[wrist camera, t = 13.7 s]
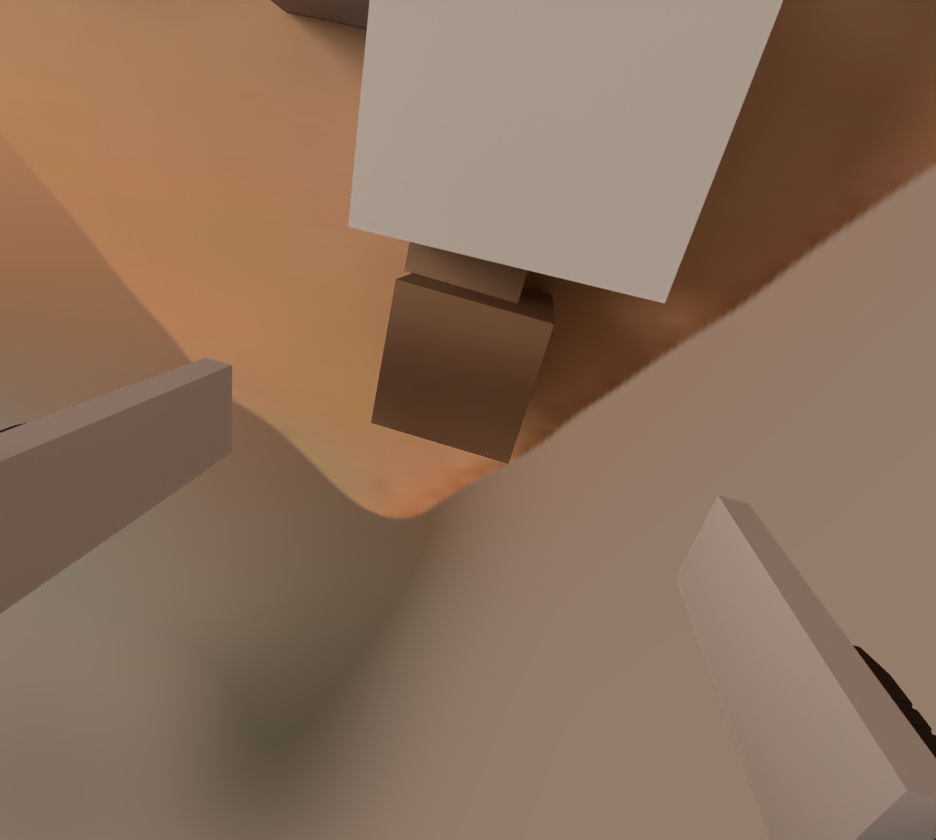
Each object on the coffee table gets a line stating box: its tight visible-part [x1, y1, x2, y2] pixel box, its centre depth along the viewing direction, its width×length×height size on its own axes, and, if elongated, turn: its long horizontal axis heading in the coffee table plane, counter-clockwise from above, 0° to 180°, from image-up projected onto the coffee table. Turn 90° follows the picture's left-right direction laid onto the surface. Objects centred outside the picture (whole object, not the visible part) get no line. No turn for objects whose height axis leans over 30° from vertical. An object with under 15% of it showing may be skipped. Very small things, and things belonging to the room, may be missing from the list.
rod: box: [405, 242, 529, 304], centre depth 14 cm, size 17×4×4 cm, turn 166°
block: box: [371, 273, 554, 463], centre depth 18 cm, size 5×5×6 cm
